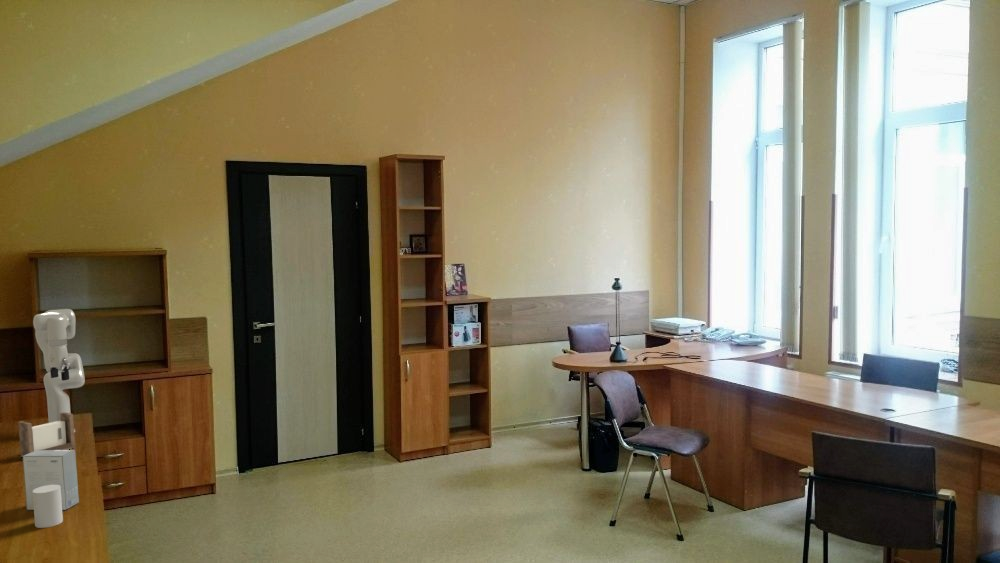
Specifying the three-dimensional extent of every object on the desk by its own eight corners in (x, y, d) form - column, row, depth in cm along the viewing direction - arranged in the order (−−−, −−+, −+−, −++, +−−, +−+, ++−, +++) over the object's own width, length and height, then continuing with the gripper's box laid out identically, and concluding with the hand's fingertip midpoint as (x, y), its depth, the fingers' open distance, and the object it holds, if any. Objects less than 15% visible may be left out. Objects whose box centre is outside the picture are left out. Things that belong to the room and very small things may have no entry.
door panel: (29, 454, 332) (27, 427, 331) (61, 445, 344) (60, 420, 343) (34, 455, 330) (32, 428, 329) (67, 447, 342) (65, 421, 341)
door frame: (21, 457, 331) (18, 422, 330) (65, 445, 347) (63, 412, 346) (30, 460, 326) (27, 424, 325) (75, 448, 343) (73, 414, 342)
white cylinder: (42, 519, 257) (40, 485, 257) (67, 517, 258) (65, 484, 257) (30, 528, 249) (27, 493, 248) (55, 527, 250) (53, 492, 249)
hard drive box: (80, 502, 272) (76, 449, 271) (65, 510, 265) (62, 456, 263) (40, 502, 274) (36, 449, 272) (25, 510, 266) (21, 455, 265)
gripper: (39, 342, 348) (42, 378, 350) (58, 345, 339) (61, 382, 340) (56, 339, 354) (58, 375, 356) (75, 343, 345) (78, 379, 347)
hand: (60, 378), depth 348 cm, fingers open, 9 cm apart
